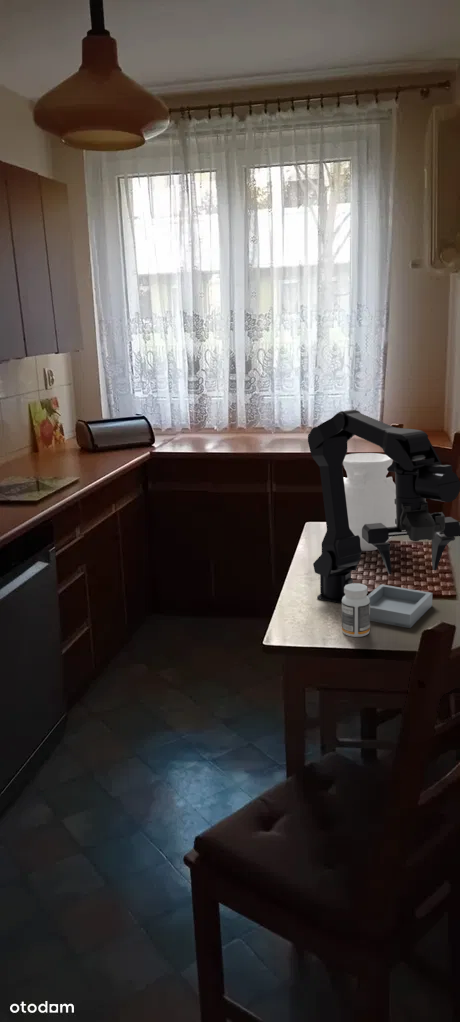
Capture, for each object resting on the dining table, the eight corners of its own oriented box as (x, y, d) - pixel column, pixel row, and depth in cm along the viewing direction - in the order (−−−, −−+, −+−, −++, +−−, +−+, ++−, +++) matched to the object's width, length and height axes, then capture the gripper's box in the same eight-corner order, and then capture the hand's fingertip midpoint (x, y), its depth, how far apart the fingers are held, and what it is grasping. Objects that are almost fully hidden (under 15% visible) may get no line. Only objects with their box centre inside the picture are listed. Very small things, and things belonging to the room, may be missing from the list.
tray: (355, 617, 168) (356, 604, 168) (380, 596, 180) (380, 584, 179) (409, 628, 162) (410, 614, 161) (432, 605, 173) (432, 592, 173)
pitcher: (390, 559, 205) (391, 465, 198) (322, 552, 213) (322, 461, 206) (407, 539, 221) (409, 452, 214) (344, 533, 229) (344, 449, 222)
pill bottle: (366, 626, 164) (367, 581, 161) (372, 637, 158) (373, 591, 156) (339, 627, 164) (339, 582, 161) (344, 638, 158) (344, 592, 156)
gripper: (374, 507, 146) (377, 588, 149) (472, 499, 147) (472, 579, 150) (359, 496, 156) (362, 571, 160) (451, 488, 158) (451, 563, 161)
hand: (412, 571), depth 157 cm, fingers open, 9 cm apart
